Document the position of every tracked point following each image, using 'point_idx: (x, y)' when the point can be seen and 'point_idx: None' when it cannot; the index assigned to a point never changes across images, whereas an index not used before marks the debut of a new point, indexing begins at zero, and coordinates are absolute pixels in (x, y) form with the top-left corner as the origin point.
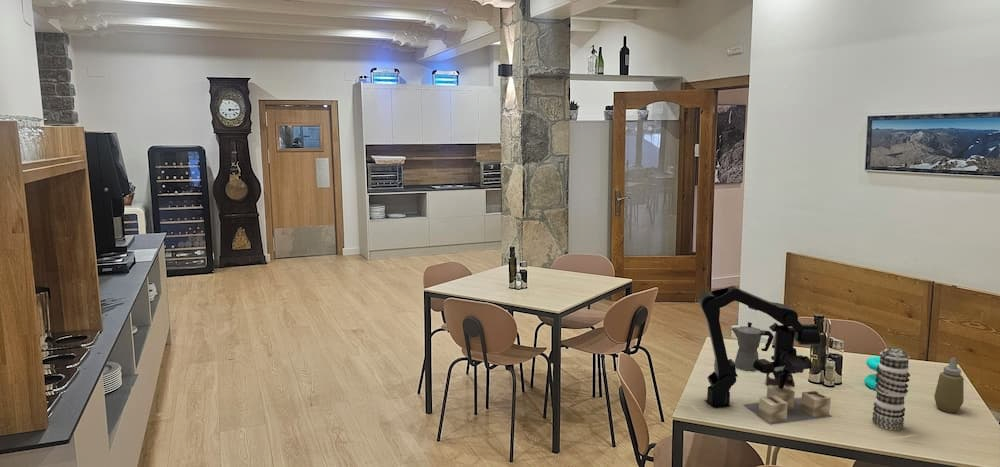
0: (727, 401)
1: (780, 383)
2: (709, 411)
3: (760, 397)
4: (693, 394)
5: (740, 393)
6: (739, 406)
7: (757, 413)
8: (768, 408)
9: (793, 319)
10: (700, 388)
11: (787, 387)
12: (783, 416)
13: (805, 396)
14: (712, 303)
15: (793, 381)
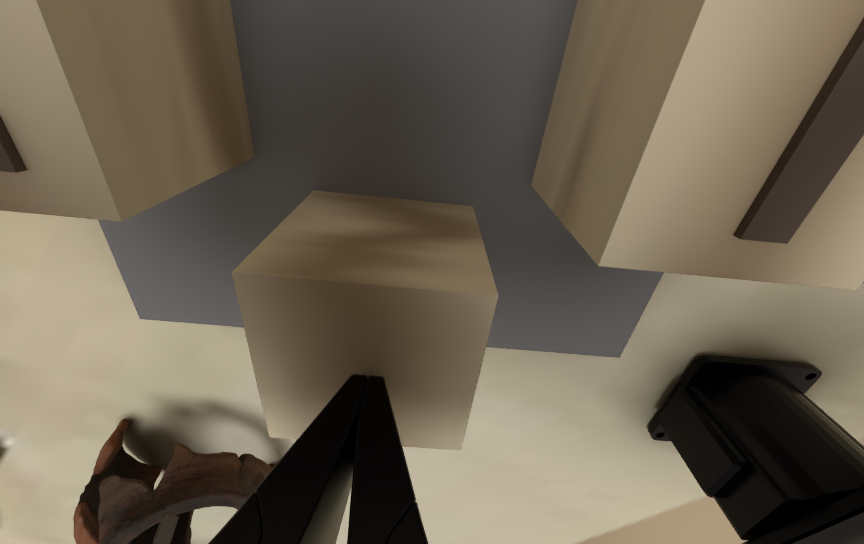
0: (715, 400)
1: (399, 446)
2: (856, 358)
3: (846, 285)
4: (695, 492)
5: (475, 449)
6: (629, 352)
7: None
8: None
9: None
10: (605, 515)
11: (258, 384)
12: None
13: (118, 124)
14: None
15: (100, 462)
